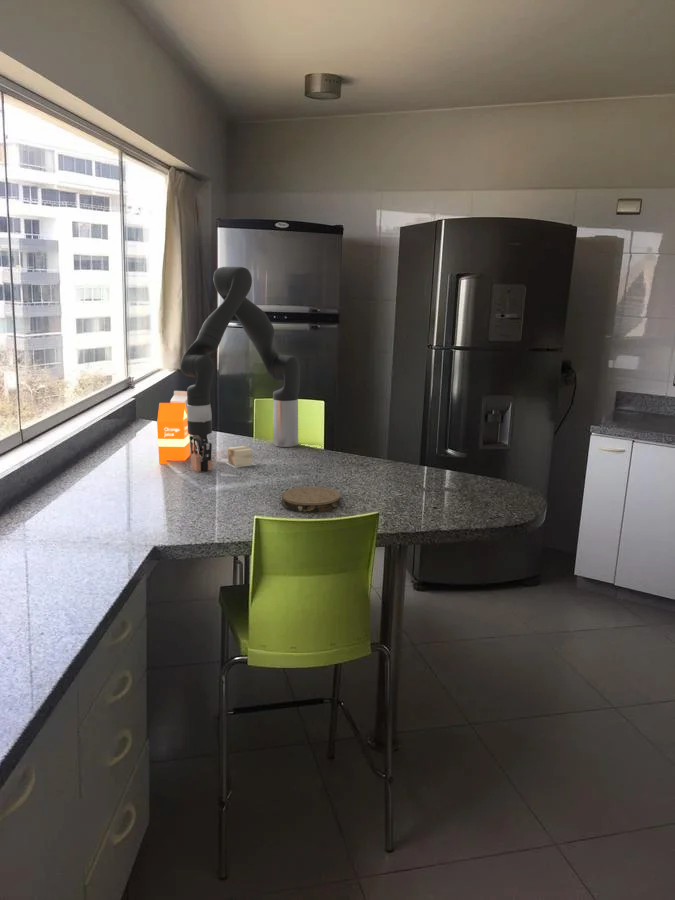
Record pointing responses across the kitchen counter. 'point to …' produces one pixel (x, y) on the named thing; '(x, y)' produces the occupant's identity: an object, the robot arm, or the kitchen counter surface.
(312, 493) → the tambourine
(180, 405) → the orange juice
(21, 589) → the kitchen counter surface
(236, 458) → the birch block
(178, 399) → the milk
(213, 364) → the robot arm
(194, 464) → the terracotta block
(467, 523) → the kitchen counter surface
